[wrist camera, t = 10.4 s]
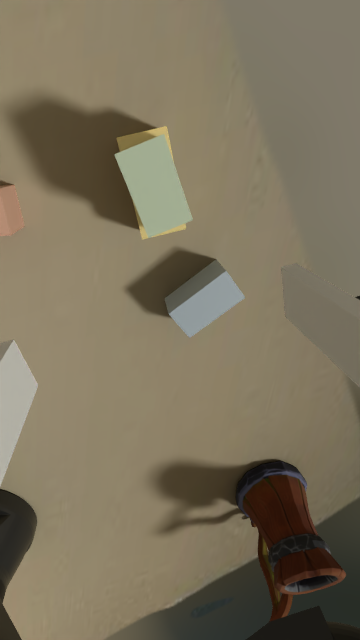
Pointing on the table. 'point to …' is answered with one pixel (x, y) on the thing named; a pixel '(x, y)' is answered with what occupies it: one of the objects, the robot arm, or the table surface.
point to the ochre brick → (139, 138)
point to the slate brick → (203, 298)
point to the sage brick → (154, 185)
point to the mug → (286, 534)
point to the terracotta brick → (9, 211)
